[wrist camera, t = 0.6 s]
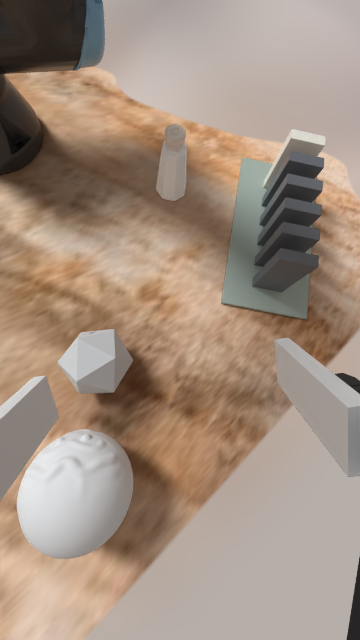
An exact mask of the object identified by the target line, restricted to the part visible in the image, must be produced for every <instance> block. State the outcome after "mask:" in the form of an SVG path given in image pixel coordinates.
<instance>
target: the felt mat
mask: <svg viewBox="0 0 360 640" xmlns="http://www.w3.org/2000/svg"><path fill="white" fill-rule="evenodd" d="M272 165H273V164H270V163H266V162H261V161H257V160H252V159H248V158H242V161H241V168H240V175H239V182H238V189H237V196H236V203H235V210H234V217H233V224H232V231H231V238H230V245H229V252H228V259H227V266H226V273H225V280H224V287H223V294H222V301H221V303H222V304H227V305H232V306H238V307H243V308H248V309H253V310H258V311H263V312H268V313H274V314H279V315H284V316H289V317H294V318H299V319H304V320H305V319H307V311H308V295H309V280H310V273H309V274H307V275H306V276H305V277H303V278H302V279H300V280H299V281H297V282H296V283H294V284H293V285H292V286H290V287H289V288H287V289H286V290H284V291H283V292H277V291H272V290H267V289H262V288H257V287H252V282H253V277H254V276H255V275H256V274H257V273H258V272H259V271H260V269H261V268H262V266H257V265H254V264H255V256H256V255H257V254H258V252H259V251H260V250H261V249H262V247H263V246H261V245H257V240H258V236H259V234H260V233H261V231H262V230H263V229H264V227H265V226H262V225H259V222H260V216H261V215H262V213H263V212H264V210H265V208H266V207H265V206H261V205H262V198H263V196H264V194H265V192H266V191H267V189H268V188H265V187H264V180H265V178H266V176H267V174H268V172H269V170H270V169H271V167H272ZM315 179H316V178H315ZM314 202H315V200H314V201H313V202H312V203H314ZM310 227H311V228H313V224H312V225H311V226H310ZM311 248H312V247H311ZM311 248H310V249H309V250H307V251H306V252H305V253H308V254H311Z"/></svg>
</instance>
